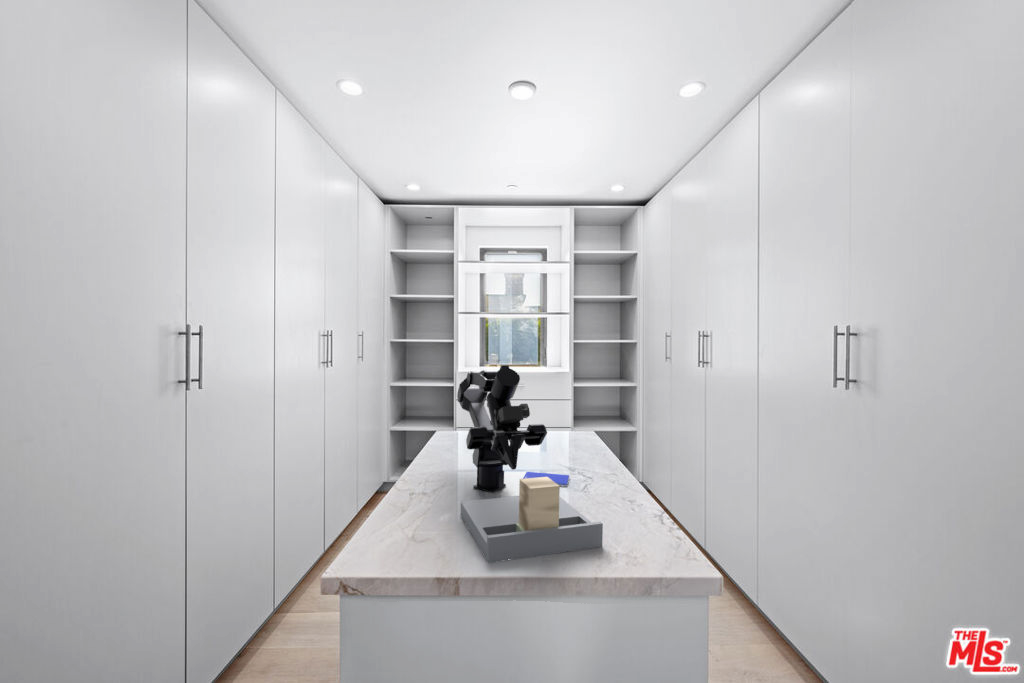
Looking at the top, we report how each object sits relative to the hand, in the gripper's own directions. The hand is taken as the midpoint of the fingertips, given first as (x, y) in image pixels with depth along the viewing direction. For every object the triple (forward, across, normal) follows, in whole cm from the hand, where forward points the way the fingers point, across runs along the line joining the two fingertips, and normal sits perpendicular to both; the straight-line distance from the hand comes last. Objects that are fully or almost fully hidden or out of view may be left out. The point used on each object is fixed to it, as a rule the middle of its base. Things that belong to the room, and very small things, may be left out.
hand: (514, 468), depth 105 cm
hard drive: (-7, +17, +23) cm, 29 cm away
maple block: (+16, 0, -5) cm, 17 cm away
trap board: (+13, 0, +1) cm, 13 cm away
